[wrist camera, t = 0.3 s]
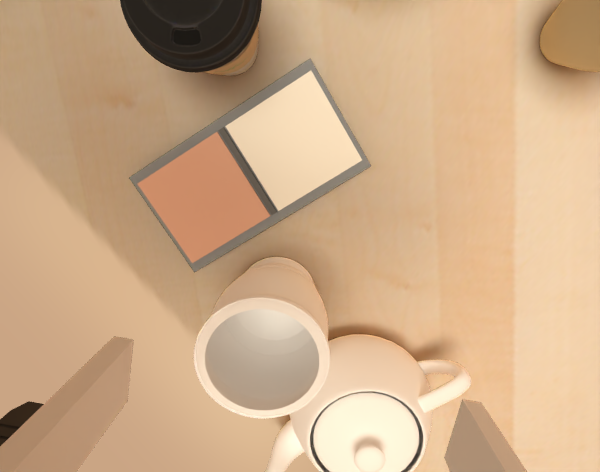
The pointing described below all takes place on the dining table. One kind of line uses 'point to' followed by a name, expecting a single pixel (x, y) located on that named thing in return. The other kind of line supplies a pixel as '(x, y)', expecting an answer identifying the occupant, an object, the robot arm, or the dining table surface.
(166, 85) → the dining table surface
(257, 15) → the coffee cup
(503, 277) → the dining table surface
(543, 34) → the mug
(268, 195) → the makeup palette
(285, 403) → the jar
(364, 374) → the teapot
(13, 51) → the dining table surface
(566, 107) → the dining table surface
